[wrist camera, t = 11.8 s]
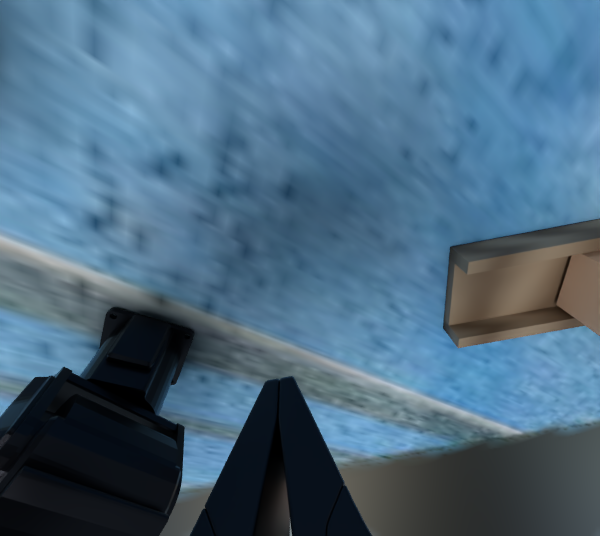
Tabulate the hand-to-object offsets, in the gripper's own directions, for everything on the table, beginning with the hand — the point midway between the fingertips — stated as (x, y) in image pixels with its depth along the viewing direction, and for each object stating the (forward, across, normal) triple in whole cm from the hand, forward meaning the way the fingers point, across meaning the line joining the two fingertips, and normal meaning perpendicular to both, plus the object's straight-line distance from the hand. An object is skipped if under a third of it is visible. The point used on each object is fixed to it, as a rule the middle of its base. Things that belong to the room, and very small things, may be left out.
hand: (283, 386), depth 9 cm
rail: (+13, -20, +8) cm, 26 cm away
